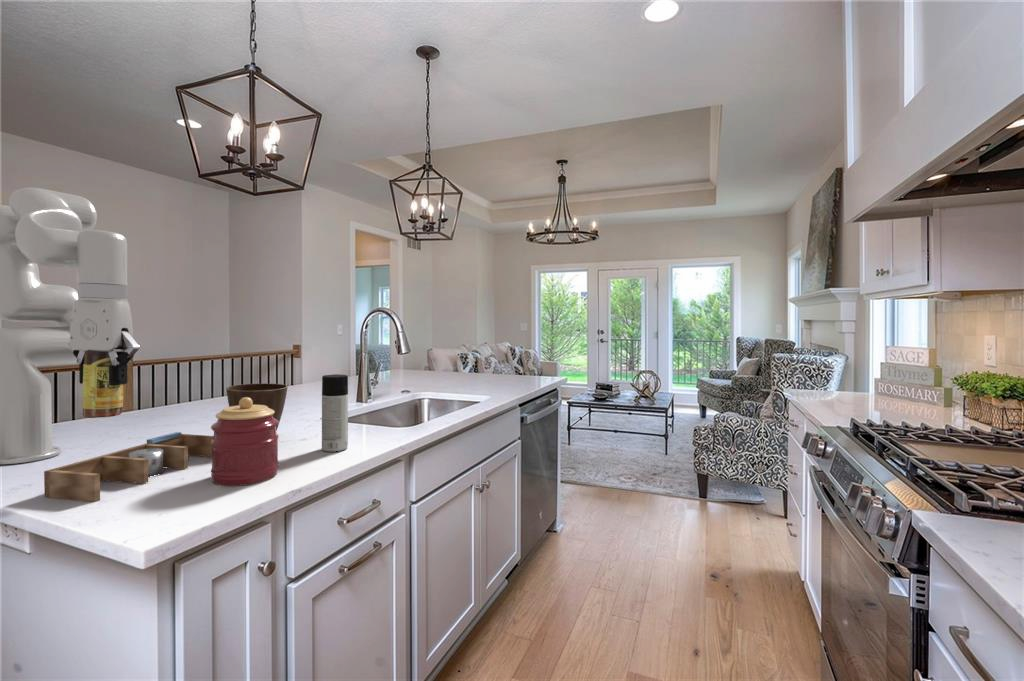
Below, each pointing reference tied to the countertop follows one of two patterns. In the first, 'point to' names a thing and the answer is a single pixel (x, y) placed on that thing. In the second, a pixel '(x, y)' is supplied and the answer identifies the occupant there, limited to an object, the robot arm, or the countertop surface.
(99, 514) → the countertop surface
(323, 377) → the spray can
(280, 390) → the plant pot
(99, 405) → the sauce bottle
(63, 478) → the caddy
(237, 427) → the canister
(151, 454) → the tin
